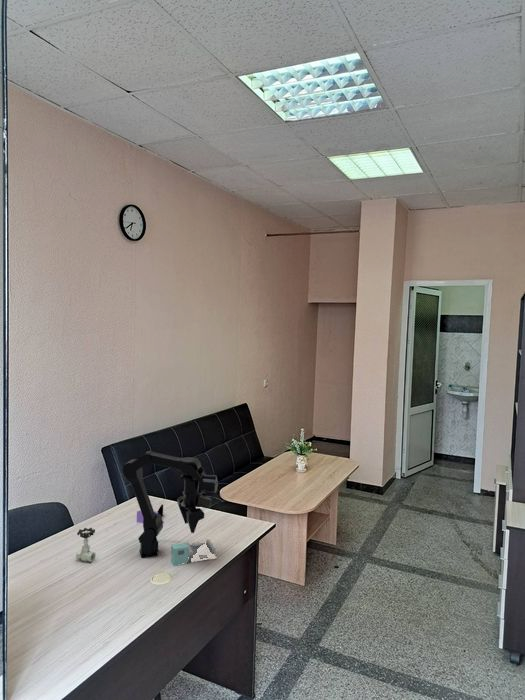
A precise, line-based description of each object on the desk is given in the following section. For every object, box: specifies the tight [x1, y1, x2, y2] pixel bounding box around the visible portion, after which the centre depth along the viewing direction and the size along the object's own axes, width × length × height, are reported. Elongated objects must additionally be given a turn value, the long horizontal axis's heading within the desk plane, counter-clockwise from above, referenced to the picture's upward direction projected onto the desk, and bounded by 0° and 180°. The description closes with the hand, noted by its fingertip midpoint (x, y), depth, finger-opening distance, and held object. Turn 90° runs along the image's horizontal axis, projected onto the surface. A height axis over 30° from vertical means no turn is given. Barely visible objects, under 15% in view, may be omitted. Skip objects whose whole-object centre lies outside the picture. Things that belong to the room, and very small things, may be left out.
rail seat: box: [185, 538, 216, 562], centre depth 195 cm, size 11×14×3 cm
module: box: [170, 542, 189, 566], centre depth 187 cm, size 6×4×7 cm
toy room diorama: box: [136, 504, 164, 524], centre depth 226 cm, size 12×12×7 cm
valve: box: [75, 527, 97, 563], centre depth 186 cm, size 7×7×12 cm
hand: (189, 528), depth 191 cm, fingers open, 9 cm apart
